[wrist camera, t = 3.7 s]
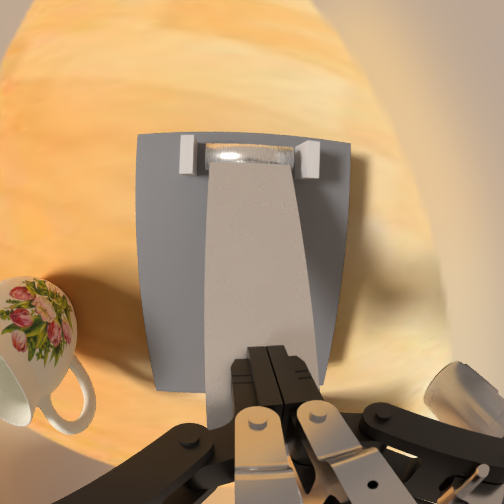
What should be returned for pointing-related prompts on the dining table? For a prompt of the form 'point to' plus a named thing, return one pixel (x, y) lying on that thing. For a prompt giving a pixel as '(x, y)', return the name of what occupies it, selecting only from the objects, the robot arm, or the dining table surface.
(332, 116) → the dining table surface
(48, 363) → the pitcher
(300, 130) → the dining table surface
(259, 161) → the metal hinged lever
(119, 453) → the dining table surface
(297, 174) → the block
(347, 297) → the dining table surface
